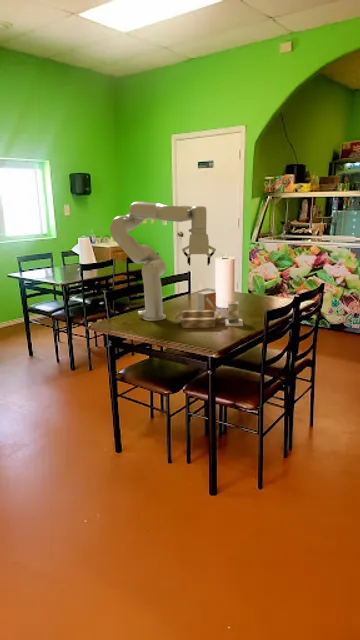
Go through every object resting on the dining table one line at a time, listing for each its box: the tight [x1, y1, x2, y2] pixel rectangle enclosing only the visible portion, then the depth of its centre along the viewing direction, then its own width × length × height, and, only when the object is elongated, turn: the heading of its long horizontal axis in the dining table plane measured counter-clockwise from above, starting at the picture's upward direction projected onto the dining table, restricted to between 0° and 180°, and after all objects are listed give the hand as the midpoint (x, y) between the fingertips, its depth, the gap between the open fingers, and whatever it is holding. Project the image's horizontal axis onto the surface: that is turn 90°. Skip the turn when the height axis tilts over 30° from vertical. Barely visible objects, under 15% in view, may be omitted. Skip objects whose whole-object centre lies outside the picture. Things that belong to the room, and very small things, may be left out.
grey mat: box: [224, 318, 244, 327], centre depth 225 cm, size 9×10×1 cm
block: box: [227, 300, 240, 323], centre depth 224 cm, size 5×6×10 cm
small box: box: [197, 290, 217, 311], centre depth 242 cm, size 8×6×13 cm
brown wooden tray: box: [174, 309, 222, 329], centre depth 226 cm, size 23×19×5 cm
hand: (198, 265), depth 225 cm, fingers open, 9 cm apart
